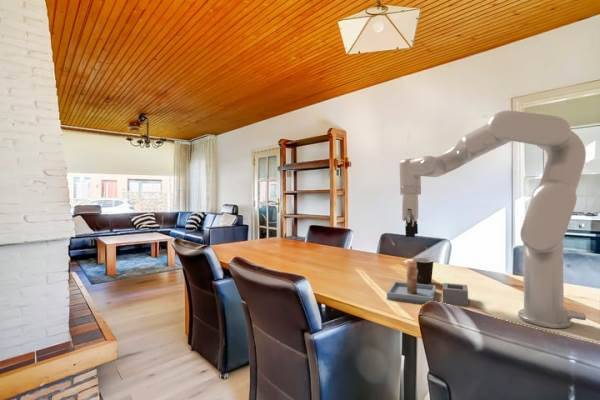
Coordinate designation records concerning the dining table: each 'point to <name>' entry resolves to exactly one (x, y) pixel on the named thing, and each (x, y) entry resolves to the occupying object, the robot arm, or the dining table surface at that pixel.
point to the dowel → (411, 277)
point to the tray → (400, 294)
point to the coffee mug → (424, 270)
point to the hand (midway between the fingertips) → (411, 235)
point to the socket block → (455, 293)
